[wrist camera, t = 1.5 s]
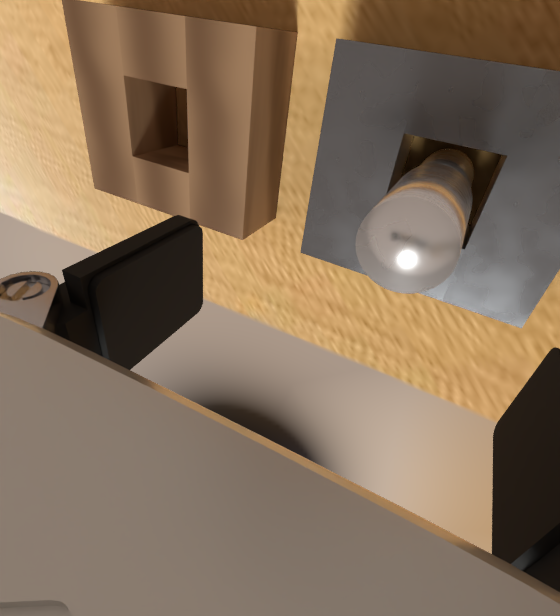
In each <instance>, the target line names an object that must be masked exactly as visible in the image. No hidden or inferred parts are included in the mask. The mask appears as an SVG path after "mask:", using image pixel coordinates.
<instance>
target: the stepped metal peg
mask: <svg viewBox="0 0 560 616" xmlns="http://www.w3.org/2000/svg"><path fill="white" fill-rule="evenodd" d="M473 178H474V167H473V164H472V162H471V160H470V158H469V157H468V156H467V155H466V154H465V153H463V152H461V151H459V150H456V149H442V150H438V151H436V152H434V153H432V154H431V155H429V156H428V157H427V158H426V159H425V160H424V161H423V163H422V164H421V165H420V166H418V167H416V168H414V169H412V170H410V171H409V172H407V173H406V174H405V175H404V176H403V177H402V178H401V179H400V180H399V181H398V182H397V183H396V184H395V185H394V186H393V187H392V189H391V190H390V191H389V192H388V193H387V194H386V195H385V196H384V197H383V198H382V199H381V200H380V202H379V203H378V204H377V205H376V206H375V207H374V208H373V209H372V210H371V211H370V212H369V213H368V215H367V216H366V217H365V218H364V220H363V221H362V223H361V225H360V227H359V229H358V232H357V236H356V254H357V258H358V260H359V263H360V265H361V267H362V269H363V270H364V272H365V273H366V274H367V275H368V276H369V277H370V278H371V279H372V280H373V281H374V282H375V283H377V284H378V285H380V286H382V287H384V288H386V289H388V290H391V291H394V292H398V293H408V294H411V293H420V292H424V291H427V290H430V289H432V288H435V287H436V286H438V285H440V284H441V283H442V282H444V281H445V280H446V279H447V278H448V277H449V276H450V275H451V273H452V272H453V270H454V269H455V267H456V265H457V262H458V259H459V256H460V252H461V248H462V244H463V240H464V236H465V232H466V228H467V224H468V220H469V216H470V213H471V208H472V201H473V197H472V191H471V185H472V182H473Z"/></svg>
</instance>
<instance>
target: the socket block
mask: <svg viewBox="0 0 560 616" xmlns="http://www.w3.org/2000/svg"><path fill="white" fill-rule="evenodd" d="M414 136H419V137H423V138H428V139H433V140H437V141H442V142H446V143H451V144H456V145H460V146H465V147H470V148H474V149H479V150H483V151H488V152H493V153H497V154H502V156H501V158H500V161H499V163H498V165H497V167H496V170H495V172H494V174H493V176H492V179H491V181H490V183H489V185H488V188H487V190H486V192H485V194H484V196H483V199H482V201H481V203H480V205H479V208H478V210H477V212H476V214H475V217H474V219H473V221H472V223H471V226H468V225H467V228H466V232H465V236H464V240H463V244H462V248H461V252H460V256H459V259H458V262H457V265H456V267H455V269H454V270H453V272H452V273H451V275H450V276H449V277H448V278H447V279H446V280H445V281H444V282H442V283H441V284H440V285H438V286H436V287H435V288H432V289H430V290H427V291H424V292H420V294H423V295H426V296H429V297H432V298H435V299H438V300H441V301H443V302H446V303H449V304H452V305H455V306H458V307H461V308H464V309H467V310H470V311H473V312H475V313H478V314H481V315H484V316H487V317H490V318H493V319H496V320H499V321H502V322H505V323H508V324H510V325H513V326H516V327H519V328H522V327H523V325H524V324H525V322H526V320H527V319H528V317H529V316H530V314H531V313H532V311H533V310H534V308H535V306H536V305H537V303H538V302H539V300H540V299H541V297H542V296H543V294H544V292H545V291H546V289H547V288H548V286H549V285H550V283H551V281H552V280H553V278H554V277H555V275H556V274H557V272H558V271H559V269H560V71H555V70H549V69H542V68H535V67H528V66H521V65H515V64H508V63H501V62H494V61H487V60H481V59H474V58H467V57H460V56H453V55H447V54H440V53H433V52H426V51H419V50H413V49H406V48H399V47H392V46H385V45H379V44H372V43H365V42H358V41H351V40H344V39H336V45H335V51H334V57H333V62H332V68H331V74H330V80H329V86H328V92H327V98H326V104H325V110H324V116H323V122H322V128H321V134H320V140H319V146H318V152H317V158H316V164H315V170H314V175H313V181H312V187H311V193H310V199H309V205H308V211H307V217H306V223H305V229H304V235H303V241H302V247H301V253H303V254H306V255H309V256H312V257H315V258H318V259H321V260H324V261H327V262H330V263H333V264H336V265H338V266H341V267H344V268H347V269H350V270H353V271H356V272H359V273H362V274H365V275H367V274H366V273H365V272H364V270H363V269H362V267H361V265H360V263H359V260H358V258H357V254H356V236H357V232H358V229H359V227H360V225H361V223H362V221H363V220H364V218H365V217H366V216H367V215H368V213H369V212H370V211H371V210H372V209H373V208H374V207H375V206H376V205H377V204H378V203H379V202H380V200H381V199H382V198H383V197H384V196H385V195H386V194H387V193H388V192H389V191H390V190H391V189H392V187H393V186H394V185H395V184H396V183H397V182H398V181H399V180H400V179H401V177H402V174H403V171H404V167H405V164H406V161H407V158H408V154H409V151H410V148H411V144H412V141H413V138H414Z"/></svg>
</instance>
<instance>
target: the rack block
mask: <svg viewBox="0 0 560 616" xmlns="http://www.w3.org/2000/svg"><path fill="white" fill-rule="evenodd" d="M62 4H63V9H64V15H65V21H66V27H67V32H68V38H69V44H70V49H71V55H72V61H73V67H74V72H75V78H76V84H77V90H78V95H79V101H80V107H81V113H82V118H83V124H84V130H85V136H86V141H87V147H88V153H89V159H90V164H91V170H92V176H93V182H94V187H95V189H98V190H101V191H104V192H107V193H110V194H113V195H115V196H118V197H121V198H124V199H127V200H130V201H133V202H135V203H138V204H141V205H144V206H147V207H150V208H153V209H155V210H158V211H161V212H164V213H167V214H170V215H173V216H176V215H181V216H184V217H187V218H190V219H193V220H196V221H197V222H198V225H201V226H204V227H207V228H210V229H213V230H215V231H218V232H221V233H224V234H227V235H230V236H233V237H236V238H238V239H241V240H243V239H245V238H246V237H248V236H249V235H251V234H252V233H254V232H255V231H257V230H258V229H260V228H261V227H263V226H264V225H266V224H267V223H269V222H270V221H272V220H273V219H275V218H276V210H277V202H278V193H279V185H280V176H281V168H282V159H283V151H284V142H285V134H286V125H287V117H288V108H289V100H290V91H291V83H292V74H293V65H294V57H295V48H296V40H297V32H291V31H284V30H277V29H271V28H264V27H257V26H250V25H243V24H237V23H230V22H223V21H216V20H209V19H202V18H196V17H189V16H182V15H175V14H168V13H162V12H155V11H148V10H141V9H134V8H128V7H121V6H114V5H107V4H100V3H93V2H86V1H79V0H62ZM176 87H179V88H183V89H187V118H188V148H187V147H184V146H180V145H178V135H177V110H176Z"/></svg>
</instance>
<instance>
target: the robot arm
mask: <svg viewBox="0 0 560 616" xmlns="http://www.w3.org/2000/svg"><path fill="white" fill-rule="evenodd" d="M62 272H63V276H64V279H65V282H64V283H62V284H60V285H59V283H58V280H57V279H56V278H55V277H54V276H53V275H51V274H49V273H44V272H36V271H30V272H20V273H16V274H12V275H9V276H6V277H4V278H1V279H0V616H560V349H559V348H556V347H555V348H553V349H551V351H550V352H549V353H548V354H547V356H546V357H545V358H544V360H543V361H542V362H541V364H540V365H539V367H538V368H537V369H536V371H535V372H534V373H533V375H532V376H531V377H530V379H529V380H528V382H527V383H526V384H525V386H524V387H523V388H522V390H521V391H520V392H519V394H518V395H517V397H516V398H515V399H514V401H513V402H512V403H511V405H510V406H509V407H508V409H507V410H506V412H505V413H504V414H503V416H502V417H501V418H500V420H499V421H498V423H497V425H496V427H495V430H494V435H493V508H492V511H493V512H492V554H490V553H488V552H486V551H485V550H483V549H481V548H479V547H477V546H475V545H473V544H471V543H469V542H467V541H465V540H464V539H462V538H460V537H458V536H456V535H454V534H452V533H450V532H448V531H447V530H445V529H443V528H441V527H439V526H437V525H435V524H433V523H431V522H429V521H428V520H425V519H424V518H422V517H420V516H418V515H416V514H414V513H412V512H410V511H408V510H406V509H404V508H402V507H401V506H399V505H397V504H395V503H393V502H390V501H389V500H387V499H385V498H383V497H381V496H379V495H377V494H375V493H373V492H371V491H369V490H367V489H365V488H363V487H361V486H359V485H357V484H355V483H353V482H351V481H349V480H347V479H345V478H343V477H341V476H339V475H337V474H336V473H334V472H332V471H330V470H328V469H326V468H323V467H322V466H320V465H318V464H316V463H314V462H312V461H310V460H308V459H306V458H304V457H302V456H300V455H298V454H296V453H294V452H292V451H290V450H288V449H286V448H284V447H282V446H280V445H278V444H276V443H274V442H272V441H270V440H268V439H266V438H264V437H262V436H260V435H258V434H256V433H254V432H252V431H250V430H248V429H246V428H244V427H243V426H241V425H238V424H237V423H234V422H232V421H231V420H229V419H227V418H225V417H222V416H220V415H218V414H217V413H215V412H213V411H210V410H208V409H206V408H204V407H202V406H200V405H199V404H197V403H195V402H192V401H190V400H189V399H187V398H185V397H183V396H181V395H178V394H177V393H175V392H172V391H171V390H169V389H167V388H165V387H162V386H160V385H158V384H156V383H154V382H152V381H150V380H148V379H146V378H144V377H142V376H140V375H138V374H136V373H134V372H132V371H130V369H131V368H133V367H134V366H135V365H136V364H137V363H139V362H140V361H141V360H142V359H143V358H145V357H146V356H147V355H148V354H149V353H151V352H152V351H153V350H154V349H155V348H157V347H158V346H159V345H160V344H161V343H162V342H164V341H165V340H166V339H167V338H168V337H170V336H171V335H172V334H173V333H174V332H176V331H177V330H178V329H179V328H180V327H182V326H183V325H184V324H185V323H186V322H187V321H189V320H190V319H191V318H192V317H193V316H195V315H196V314H197V313H198V312H199V311H200V309H201V307H202V304H203V233H202V229H201V228H200V227H199V225H198V222H197V221H196V220H193V219H190V218H187V217H184V216H181V215H176V216H173V217H171V218H169V219H167V220H165V221H163V222H161V223H159V224H157V225H155V226H153V227H151V228H149V229H146V230H144V231H142V232H140V233H138V234H136V235H134V236H132V237H130V238H128V239H126V240H124V241H121V242H119V243H117V244H115V245H113V246H111V247H109V248H107V249H105V250H103V251H101V252H99V253H96V254H94V255H92V256H90V257H88V258H86V259H84V260H82V261H80V262H78V263H76V264H74V265H71V266H69V267H67V268H65V269H63V270H62Z"/></svg>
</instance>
